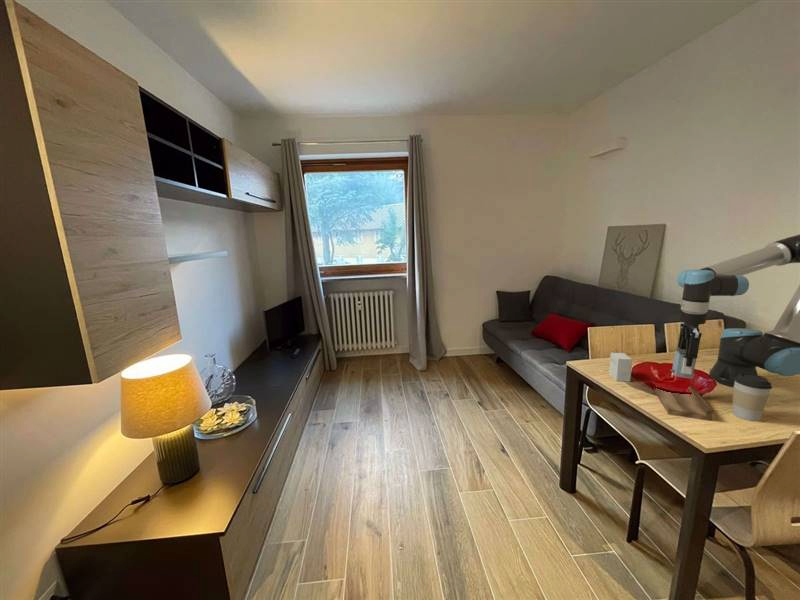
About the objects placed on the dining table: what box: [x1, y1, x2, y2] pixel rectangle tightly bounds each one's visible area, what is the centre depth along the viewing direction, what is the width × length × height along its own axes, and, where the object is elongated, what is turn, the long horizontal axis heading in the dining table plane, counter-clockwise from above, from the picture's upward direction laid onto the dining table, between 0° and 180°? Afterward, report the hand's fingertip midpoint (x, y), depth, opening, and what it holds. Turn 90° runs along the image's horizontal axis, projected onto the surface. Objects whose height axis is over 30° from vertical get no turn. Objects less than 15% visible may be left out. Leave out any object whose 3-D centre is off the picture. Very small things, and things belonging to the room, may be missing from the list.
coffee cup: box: [732, 373, 773, 422], centre depth 115 cm, size 9×9×15 cm
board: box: [654, 386, 714, 422], centre depth 124 cm, size 12×19×4 cm, turn 155°
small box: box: [608, 352, 633, 382], centre depth 147 cm, size 8×6×10 cm
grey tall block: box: [670, 347, 697, 380], centre depth 127 cm, size 6×5×10 cm
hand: (683, 370), depth 127 cm, fingers closed on grey tall block, 5 cm apart
